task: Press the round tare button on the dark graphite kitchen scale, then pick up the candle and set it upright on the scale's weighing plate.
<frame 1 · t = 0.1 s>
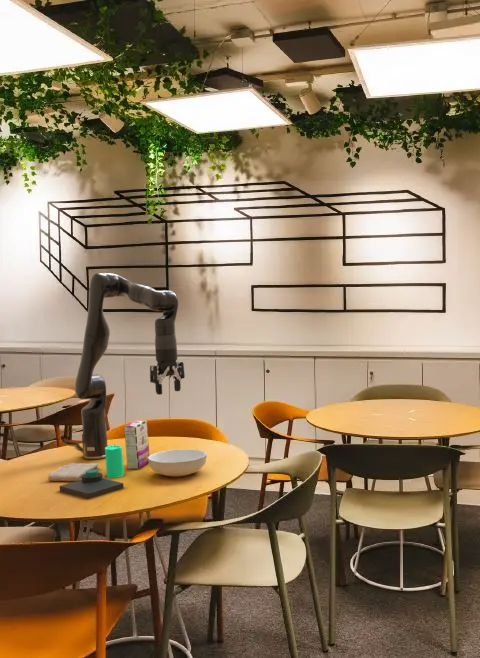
hand: (168, 392, 241), 29 cm above the table, tool pointing down, fingers open, 8 cm apart
candy bar box: (138, 466, 257), on the table
washcloth: (74, 476, 245), on the table
tare button: (91, 473, 232), point 4 cm above the table, slide at 0.1 cm
candle: (115, 476, 243), on the table
serving bowl: (178, 474, 243), on the table
scale: (91, 490, 226), on the table
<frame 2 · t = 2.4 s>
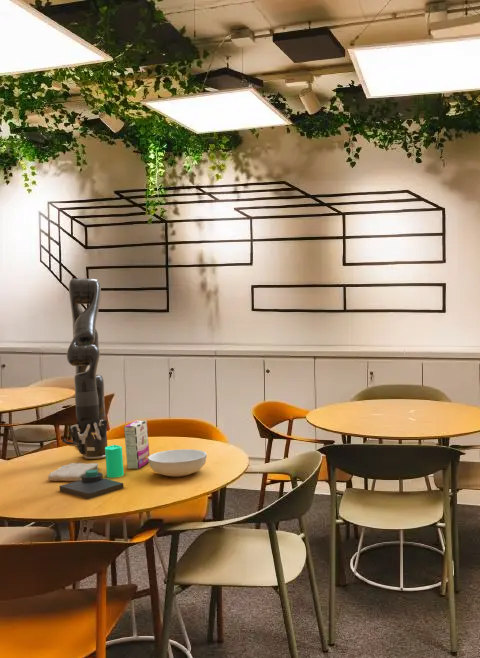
hand: (90, 452, 231), 11 cm above the table, tool pointing down, fingers open, 5 cm apart
nothing on the table moved.
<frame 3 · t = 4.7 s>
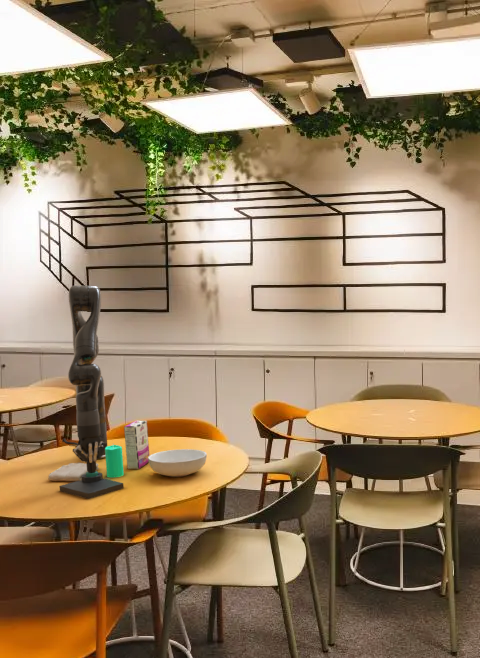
hand: (91, 472, 232), 4 cm above the table, tool pointing down, fingers closed
tare button: (91, 474, 232), point 4 cm above the table, slide at -0.3 cm, touching gripper
everything else where it was.
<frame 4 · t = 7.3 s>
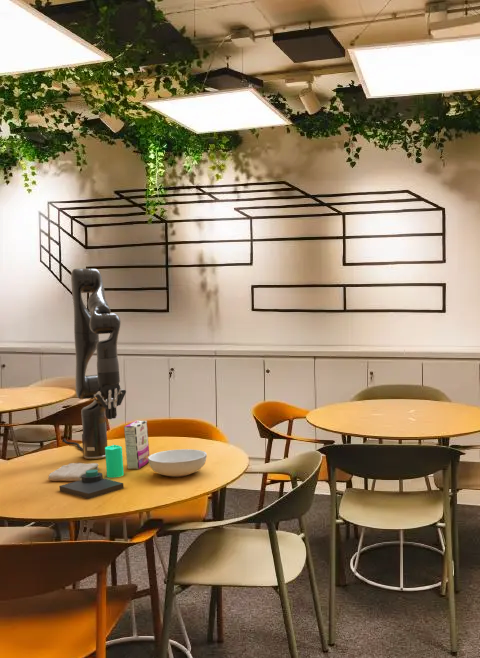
hand: (111, 418, 241), 21 cm above the table, tool pointing down, fingers closed
tare button: (91, 473, 232), point 4 cm above the table, slide at 0.1 cm
everything else where it was.
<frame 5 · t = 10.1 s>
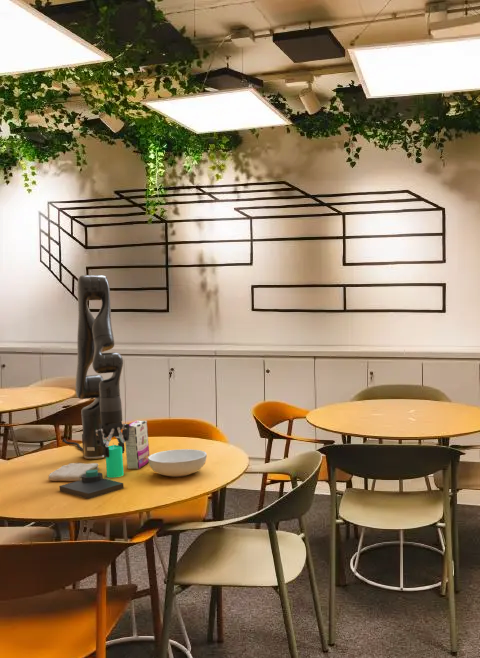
hand: (114, 455, 242), 8 cm above the table, tool pointing down, fingers closed on candle, 6 cm apart
candle: (115, 476, 243), on the table, touching gripper
everything else where it was.
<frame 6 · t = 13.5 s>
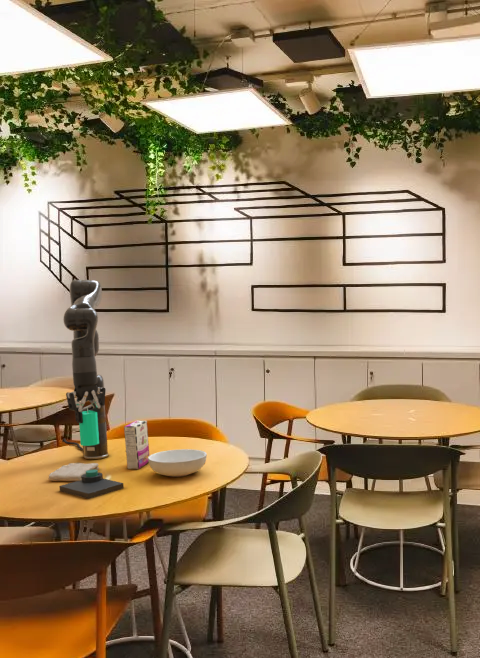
hand: (88, 421, 221), 24 cm above the table, tool pointing down, fingers closed on candle, 6 cm apart
candle: (89, 444, 222), point 16 cm above the table, touching gripper
everything else where it was.
when the fingers open (9 cm above the table, at t = 17.2 s): candle stays where it is, resting on scale.
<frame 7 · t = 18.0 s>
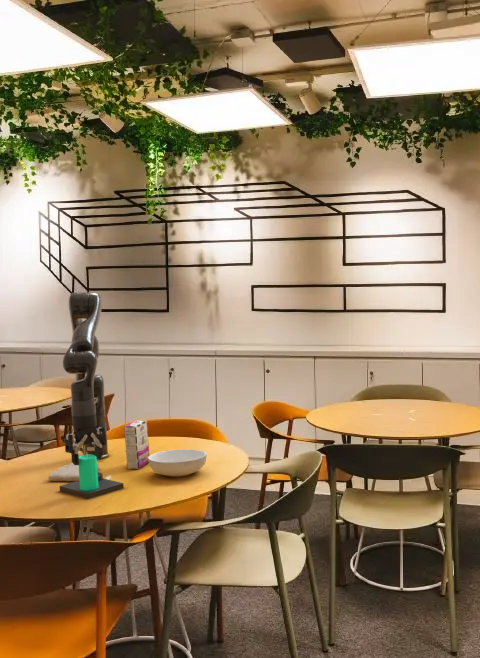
hand: (87, 461, 221), 11 cm above the table, tool pointing down, fingers open, 8 cm apart
candle: (89, 488, 222), point 2 cm above the table, touching scale
everything else where it was.
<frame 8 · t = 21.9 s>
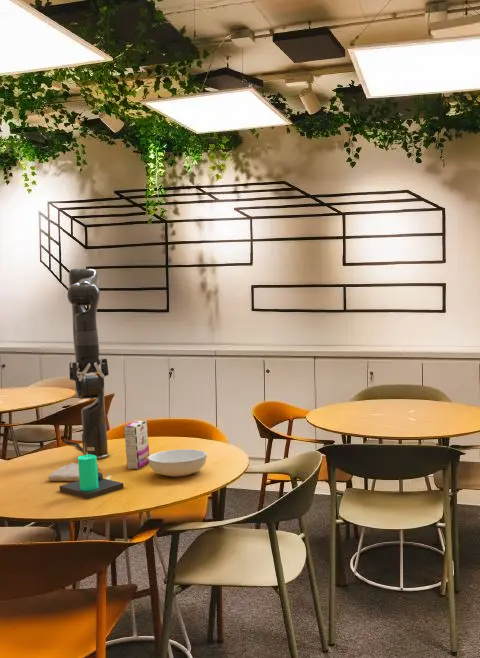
hand: (90, 390, 233), 32 cm above the table, tool pointing down, fingers open, 8 cm apart
nothing on the table moved.
at the end: tare button pushed in 0.9 cm at the most during the clip and back out by the end; candle inside the target area on the scale (1.5 cm from its centre), point 1.7 cm above the scale's base; candle touching scale; candle tilted 0° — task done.
